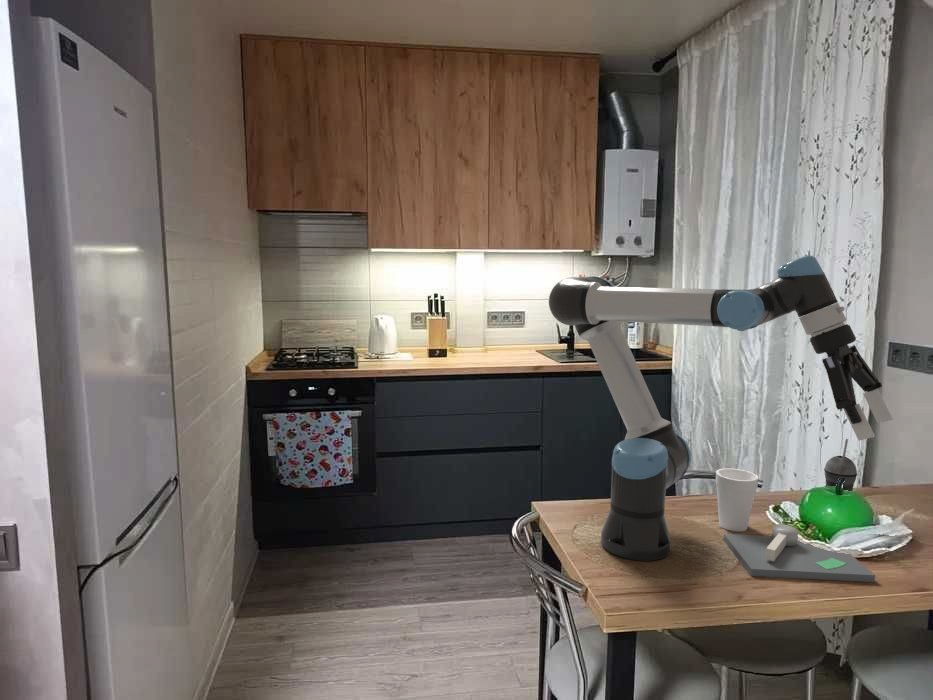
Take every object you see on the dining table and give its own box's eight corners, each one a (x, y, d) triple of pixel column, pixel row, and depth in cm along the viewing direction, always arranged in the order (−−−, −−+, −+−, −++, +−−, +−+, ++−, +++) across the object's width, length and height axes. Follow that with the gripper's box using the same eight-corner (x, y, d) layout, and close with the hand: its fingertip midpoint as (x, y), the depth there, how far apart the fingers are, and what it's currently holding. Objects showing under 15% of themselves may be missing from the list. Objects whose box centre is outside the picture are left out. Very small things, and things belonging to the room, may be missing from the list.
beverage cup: (813, 511, 160) (820, 436, 158) (833, 508, 163) (840, 434, 160) (839, 522, 153) (846, 444, 151) (859, 518, 156) (867, 441, 153)
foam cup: (742, 537, 144) (747, 483, 142) (705, 525, 151) (708, 473, 149) (760, 527, 150) (764, 475, 149) (723, 515, 157) (727, 465, 155)
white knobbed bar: (775, 534, 141) (776, 522, 141) (799, 540, 138) (800, 528, 138) (756, 556, 130) (757, 544, 130) (782, 564, 127) (783, 551, 126)
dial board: (750, 575, 126) (751, 568, 125) (723, 539, 143) (723, 533, 142) (874, 582, 124) (875, 574, 124) (831, 545, 141) (832, 538, 140)
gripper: (827, 331, 113) (880, 441, 109) (865, 314, 130) (912, 409, 126) (787, 346, 118) (836, 451, 115) (828, 328, 135) (872, 419, 132)
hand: (876, 429), depth 121 cm, fingers open, 13 cm apart
